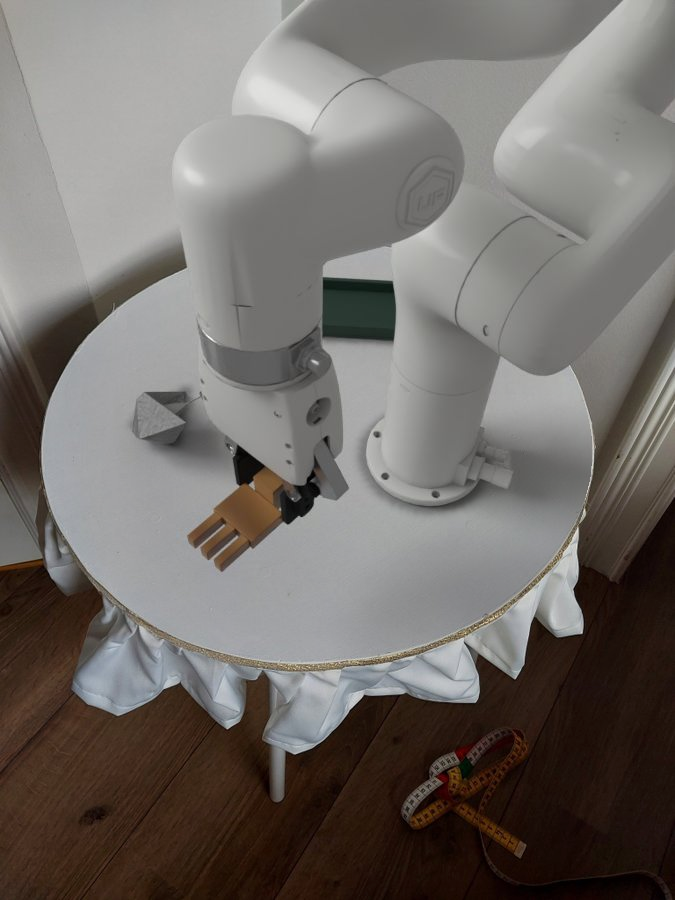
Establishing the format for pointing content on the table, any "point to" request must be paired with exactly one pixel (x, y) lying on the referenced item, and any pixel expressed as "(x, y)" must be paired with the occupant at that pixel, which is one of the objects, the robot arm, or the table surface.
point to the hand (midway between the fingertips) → (275, 492)
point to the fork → (241, 520)
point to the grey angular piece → (159, 416)
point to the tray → (358, 308)
